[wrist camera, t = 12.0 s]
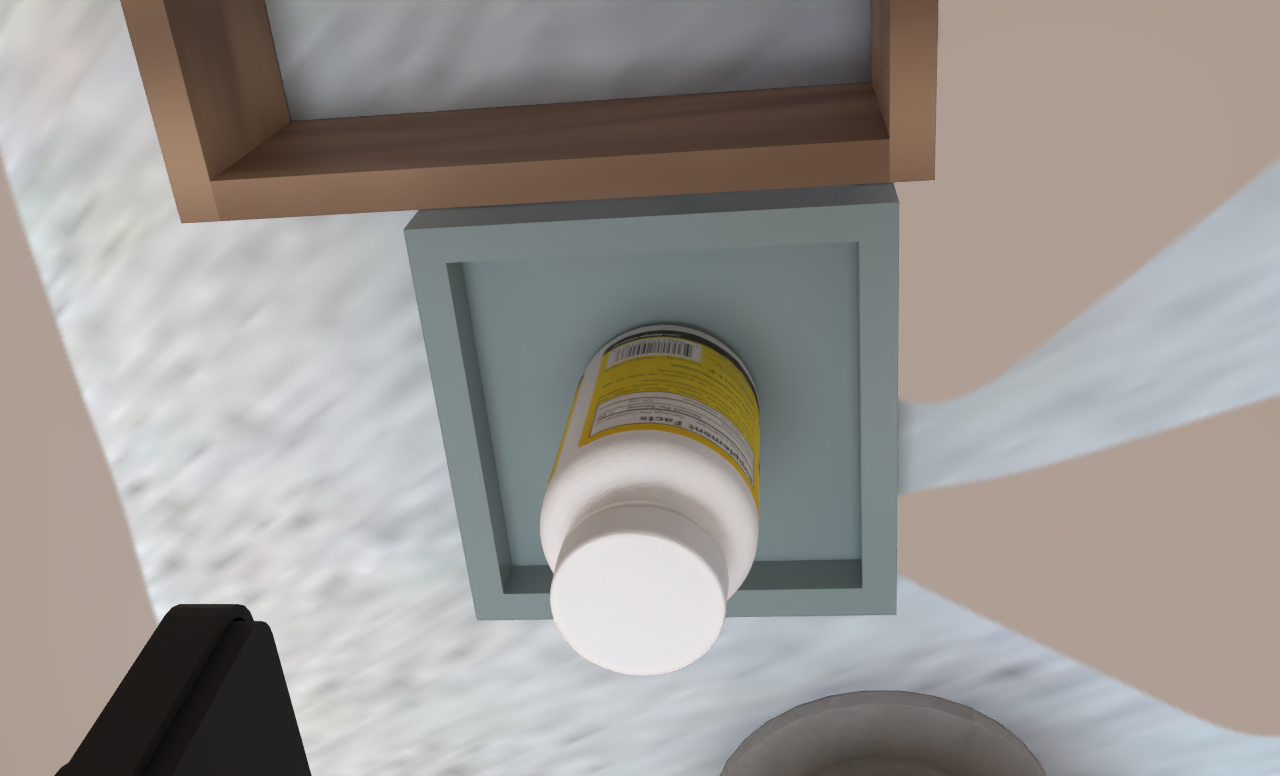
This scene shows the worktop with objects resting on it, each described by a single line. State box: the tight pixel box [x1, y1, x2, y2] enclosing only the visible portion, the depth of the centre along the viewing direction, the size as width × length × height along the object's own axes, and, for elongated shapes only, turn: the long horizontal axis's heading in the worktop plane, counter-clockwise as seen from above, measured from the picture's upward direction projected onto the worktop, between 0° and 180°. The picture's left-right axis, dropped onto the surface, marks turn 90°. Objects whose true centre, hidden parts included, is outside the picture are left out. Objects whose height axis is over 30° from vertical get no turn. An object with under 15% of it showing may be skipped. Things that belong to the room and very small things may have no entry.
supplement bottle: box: [540, 325, 760, 675], centre depth 31 cm, size 5×5×10 cm
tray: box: [404, 182, 899, 620], centre depth 35 cm, size 13×13×2 cm
